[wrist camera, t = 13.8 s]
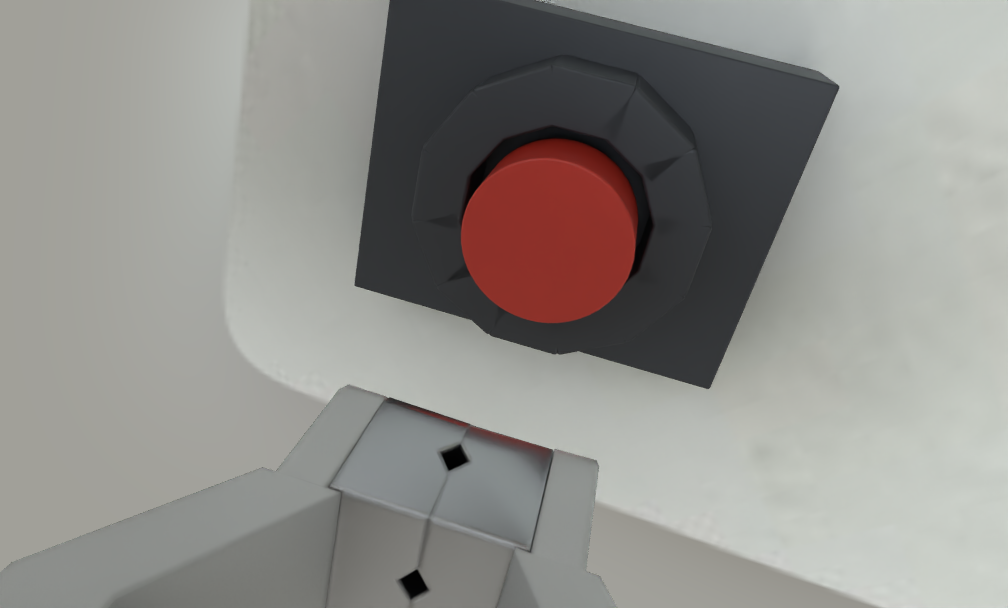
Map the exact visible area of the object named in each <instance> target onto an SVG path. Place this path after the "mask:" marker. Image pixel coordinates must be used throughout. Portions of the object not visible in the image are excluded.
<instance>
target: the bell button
mask: <svg viewBox="0 0 1008 608" xmlns="http://www.w3.org/2000/svg"><path fill="white" fill-rule="evenodd" d="M637 227H638V209H637V203H636V198H635V195H634V192H633V189H632V187H631V185H630V183H629V181H628V179H627V178H626V176H625V175H624V173H623V172H622V170H621V169H620V168H619V167H618V166H617V165H616V163H615V162H613V161H612V160H611V159H610V158H609V157H608V156H606V155H605V154H603V153H602V152H600V151H599V150H597V149H595V148H593V147H591V146H589V145H587V144H584V143H581V142H578V141H574V140H568V139H557V138H555V139H543V140H538V141H534V142H531V143H528V144H525V145H523V146H521V147H519V148H517V149H515V150H513V151H512V152H511V153H509V154H508V155H506V156H505V157H504V158H503V159H502V160H501V161H500V162H499V163H498V164H497V165H496V166H495V168H494V169H493V170H492V171H491V173H490V174H489V175H488V176H487V177H486V179H485V180H484V181H483V182H482V184H481V185H480V186H479V187H478V188H477V190H476V191H475V192H474V194H473V196H472V197H471V199H470V201H469V203H468V205H467V207H466V210H465V213H464V216H463V220H462V227H461V246H462V252H463V256H464V260H465V263H466V265H467V268H468V270H469V273H470V274H471V276H472V278H473V280H474V281H475V283H476V284H477V285H478V287H479V288H480V289H481V291H482V292H483V293H484V294H485V295H486V296H487V297H488V298H489V299H490V300H491V301H493V302H494V303H495V304H496V305H498V306H499V307H501V308H502V309H504V310H505V311H507V312H509V313H511V314H513V315H515V316H518V317H521V318H523V319H526V320H531V321H535V322H542V323H562V322H569V321H573V320H577V319H581V318H583V317H586V316H588V315H591V314H592V313H594V312H596V311H598V310H600V309H601V308H602V307H604V306H605V305H606V304H608V303H609V302H610V301H611V300H612V299H613V298H614V297H615V296H616V295H617V294H618V292H619V291H620V290H621V289H622V287H623V285H624V284H625V282H626V280H627V279H628V276H629V274H630V271H631V269H632V265H633V262H634V257H635V248H636V237H637Z"/></svg>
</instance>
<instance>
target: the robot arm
mask: <svg viewBox="0 0 1008 608" xmlns="http://www.w3.org/2000/svg"><path fill="white" fill-rule="evenodd" d="M598 471H599V465H598V463H597V460H593V459H590V458H586V457H582V456H579V455H575V454H572V453H568V452H564V451H561V450H557V449H554V451H553V450H552V449H549V448H545V447H542V446H539V445H536V444H532V443H529V442H526V441H522V440H519V439H516V438H512V437H509V436H506V435H503V434H499V433H496V432H493V431H489V430H486V429H483V428H479V427H476V426H473V425H470V424H468V423H465V422H462V421H459V420H456V419H453V418H450V417H447V416H444V415H441V414H438V413H435V412H432V411H429V410H426V409H423V408H420V407H417V406H414V405H411V404H408V403H405V402H402V401H399V400H396V399H393V398H387V397H386V396H383V395H380V394H377V393H374V392H370V391H367V390H364V389H361V388H358V387H355V386H352V385H347V386H345V387H343V388H341V389H339V390H338V391H337V393H336V394H335V395H334V397H333V398H332V399H331V400H330V402H329V403H328V404H327V406H326V407H325V408H324V410H323V411H322V412H321V413H320V415H319V416H318V417H317V419H316V420H315V421H314V422H313V424H312V425H311V426H310V428H309V429H308V430H307V432H306V433H305V434H304V435H303V437H302V438H301V439H300V441H299V442H298V443H297V445H296V446H295V447H294V448H293V450H292V451H291V452H290V453H289V455H288V456H287V457H286V459H285V460H284V461H283V463H282V464H281V465H280V467H279V468H278V469H277V470H276V471H273V470H270V469H267V468H263V467H262V468H259V469H257V470H254V471H252V472H249V473H246V474H244V475H241V476H239V477H236V478H233V479H230V480H228V481H225V482H223V483H220V484H217V485H215V486H212V487H209V488H207V489H204V490H201V491H199V492H196V493H193V494H191V495H188V496H185V497H183V498H180V499H178V500H175V501H172V502H170V503H167V504H164V505H162V506H159V507H156V508H154V509H151V510H148V511H146V512H143V513H141V514H138V515H135V516H133V517H130V518H127V519H125V520H122V521H119V522H117V523H114V524H112V525H109V526H106V527H104V528H101V529H98V530H96V531H93V532H91V533H88V534H85V535H83V536H80V537H77V538H75V539H72V540H69V541H67V542H64V543H61V544H59V545H56V546H54V547H51V548H48V549H46V550H43V551H40V552H38V553H35V554H32V555H30V556H27V557H24V558H22V559H19V560H17V561H14V562H11V564H9V565H8V566H7V567H6V568H5V569H4V570H3V571H2V572H0V608H618V607H617V606H616V604H615V602H614V600H613V598H612V597H611V595H610V593H609V591H608V590H607V588H606V586H605V584H604V582H603V581H602V579H601V577H600V576H599V575H596V574H593V573H590V572H587V571H586V566H587V558H588V550H589V542H590V534H591V526H592V519H593V511H594V503H595V495H596V487H597V479H598Z"/></svg>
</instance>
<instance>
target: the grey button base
mask: <svg viewBox="0 0 1008 608" xmlns="http://www.w3.org/2000/svg"><path fill="white" fill-rule="evenodd" d="M838 90H839V86H838V85H837V84H836V83H834V82H833V81H831V80H830V79H829V78H827V77H826V76H824V75H823V74H821V73H820V72H819V71H815V70H811V69H807V68H803V67H799V66H795V65H791V64H787V63H783V62H779V61H775V60H771V59H767V58H763V57H759V56H755V55H751V54H747V53H743V52H739V51H735V50H731V49H727V48H723V47H719V46H715V45H711V44H707V43H704V42H700V41H696V40H692V39H688V38H684V37H680V36H676V35H672V34H668V33H664V32H660V31H656V30H652V29H648V28H644V27H640V26H636V25H632V24H628V23H624V22H620V21H616V20H612V19H608V18H604V17H600V16H596V15H592V14H588V13H584V12H580V11H576V10H572V9H568V8H564V7H560V6H556V5H552V4H548V3H544V2H540V1H536V0H390V4H389V12H388V20H387V28H386V36H385V44H384V52H383V60H382V68H381V76H380V84H379V92H378V100H377V108H376V116H375V124H374V132H373V140H372V148H371V156H370V164H369V172H368V180H367V188H366V196H365V204H364V212H363V220H362V228H361V236H360V244H359V252H358V261H357V269H356V277H355V286H357V287H360V288H364V289H367V290H370V291H374V292H377V293H381V294H384V295H388V296H391V297H394V298H398V299H401V300H405V301H408V302H412V303H415V304H418V305H422V306H425V307H429V308H432V309H436V310H439V311H442V312H446V313H449V314H453V315H456V316H459V317H463V318H466V319H470V320H472V321H473V322H474V323H476V324H477V325H478V326H479V327H480V328H481V329H482V330H483V331H484V332H485V333H487V334H490V335H491V336H493V337H497V338H500V339H503V340H507V341H510V342H514V343H517V344H520V345H524V346H527V347H531V348H534V349H538V350H541V351H544V352H548V353H551V354H557V353H558V354H566V353H571V352H577V351H579V352H583V353H586V354H590V355H593V356H596V357H600V358H603V359H607V360H610V361H614V362H617V363H620V364H624V365H627V366H631V367H634V368H638V369H641V370H644V371H648V372H651V373H655V374H658V375H662V376H665V377H668V378H672V379H675V380H679V381H682V382H686V383H689V384H692V385H696V386H699V387H703V388H706V389H709V388H710V387H711V385H712V382H713V380H714V378H715V375H716V373H717V371H718V368H719V366H720V364H721V361H722V359H723V357H724V354H725V352H726V350H727V347H728V345H729V343H730V340H731V338H732V336H733V333H734V331H735V329H736V326H737V324H738V322H739V320H740V317H741V315H742V313H743V310H744V308H745V306H746V303H747V301H748V299H749V296H750V294H751V292H752V289H753V287H754V285H755V282H756V280H757V278H758V275H759V273H760V271H761V268H762V266H763V264H764V261H765V259H766V257H767V254H768V252H769V250H770V248H771V245H772V243H773V241H774V238H775V236H776V234H777V231H778V229H779V227H780V224H781V222H782V220H783V217H784V215H785V213H786V210H787V208H788V206H789V203H790V201H791V199H792V196H793V194H794V192H795V189H796V187H797V185H798V183H799V180H800V178H801V176H802V173H803V171H804V169H805V166H806V164H807V162H808V159H809V157H810V155H811V152H812V150H813V148H814V145H815V143H816V141H817V138H818V136H819V134H820V131H821V129H822V127H823V124H824V122H825V120H826V118H827V115H828V113H829V111H830V108H831V106H832V104H833V101H834V99H835V97H836V94H837V92H838ZM555 138H557V139H568V140H574V141H578V142H581V143H584V144H587V145H589V146H591V147H593V148H595V149H597V150H599V151H600V152H602V153H603V154H605V155H606V156H608V157H609V158H610V159H611V160H612V161H613V162H615V163H616V165H617V166H618V167H619V168H620V169H621V170H622V172H623V173H624V175H625V176H626V178H627V179H628V181H629V183H630V185H631V187H632V189H633V192H634V195H635V198H636V203H637V209H638V227H637V237H636V248H635V257H634V262H633V265H632V269H631V271H630V274H629V276H628V279H627V280H626V282H625V284H624V285H623V287H622V289H621V290H620V291H619V292H618V294H617V295H616V296H615V297H614V298H613V299H612V300H611V301H610V302H609V303H608V304H606V305H605V306H604V307H602V308H601V309H600V310H598V311H596V312H594V313H592V314H591V315H588V316H586V317H583V318H581V319H577V320H573V321H569V322H562V323H542V322H535V321H531V320H526V319H523V318H521V317H518V316H515V315H513V314H511V313H509V312H507V311H505V310H504V309H502V308H501V307H499V306H498V305H496V304H495V303H494V302H493V301H491V300H490V299H489V298H488V297H487V296H486V295H485V294H484V293H483V292H482V291H481V289H480V288H479V287H478V285H477V284H476V283H475V281H474V280H473V278H472V276H471V274H470V273H469V270H468V268H467V265H466V263H465V260H464V256H463V252H462V246H461V227H462V220H463V216H464V213H465V210H466V207H467V205H468V203H469V201H470V199H471V197H472V196H473V194H474V192H475V191H476V190H477V188H478V187H479V186H480V185H481V184H482V182H483V181H484V180H485V179H486V177H487V176H488V175H489V174H490V173H491V171H492V170H493V169H494V168H495V166H496V165H497V164H498V163H499V162H500V161H501V160H502V159H503V158H504V157H505V156H506V155H508V154H509V153H511V152H512V151H513V150H515V149H517V148H519V147H521V146H523V145H525V144H528V143H531V142H534V141H538V140H543V139H555Z"/></svg>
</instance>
